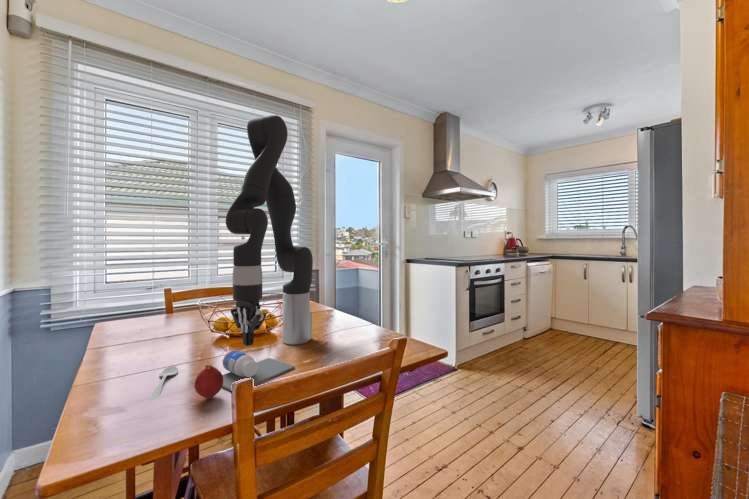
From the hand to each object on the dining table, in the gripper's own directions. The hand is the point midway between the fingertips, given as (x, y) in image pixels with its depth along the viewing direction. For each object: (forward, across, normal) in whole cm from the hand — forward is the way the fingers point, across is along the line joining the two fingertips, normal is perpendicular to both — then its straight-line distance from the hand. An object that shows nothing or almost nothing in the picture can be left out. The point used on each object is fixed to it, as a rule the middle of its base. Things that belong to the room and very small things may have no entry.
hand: (248, 344), depth 89 cm
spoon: (+8, +9, +18) cm, 21 cm away
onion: (+7, -6, +15) cm, 17 cm away
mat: (+7, -4, +1) cm, 8 cm away
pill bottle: (+4, +3, +3) cm, 6 cm away
